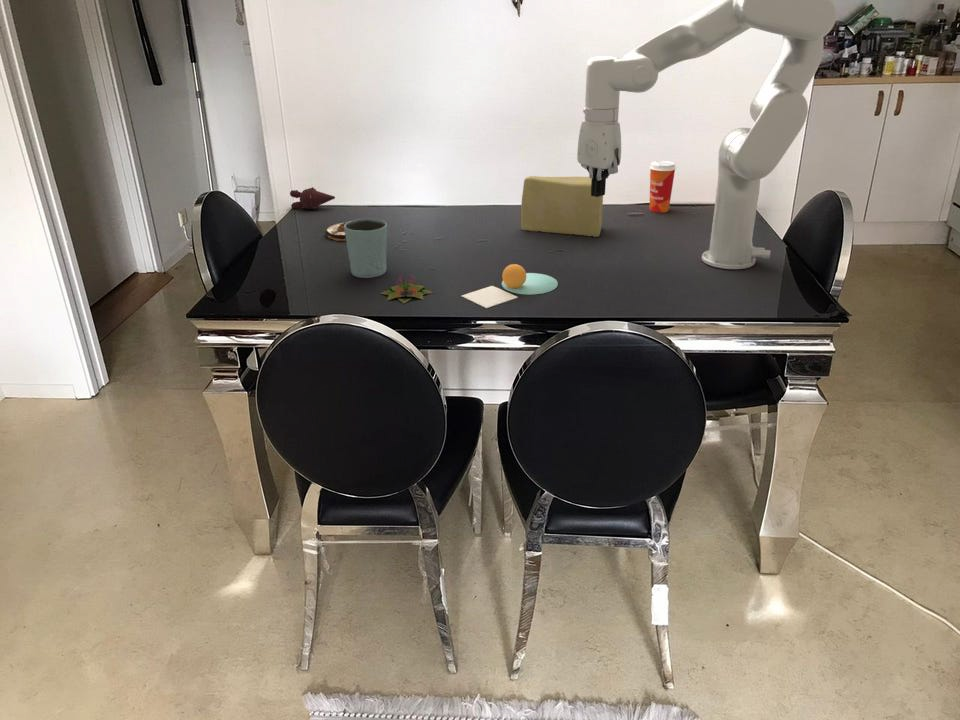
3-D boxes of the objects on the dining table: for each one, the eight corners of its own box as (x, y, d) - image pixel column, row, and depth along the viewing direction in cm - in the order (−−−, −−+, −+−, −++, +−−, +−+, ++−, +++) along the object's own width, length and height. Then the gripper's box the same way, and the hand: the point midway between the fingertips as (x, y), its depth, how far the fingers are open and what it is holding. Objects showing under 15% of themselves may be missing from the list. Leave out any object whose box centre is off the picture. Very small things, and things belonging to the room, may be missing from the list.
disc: (562, 276, 177) (562, 275, 177) (551, 296, 166) (551, 296, 166) (509, 271, 180) (509, 271, 180) (495, 291, 169) (495, 290, 169)
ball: (499, 283, 167) (512, 296, 171) (520, 271, 166) (532, 285, 169) (496, 266, 171) (508, 280, 175) (516, 255, 169) (528, 269, 173)
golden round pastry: (344, 248, 201) (342, 233, 199) (312, 237, 210) (310, 223, 208) (386, 235, 210) (385, 220, 208) (354, 225, 219) (352, 211, 217)
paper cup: (641, 208, 226) (644, 161, 219) (663, 205, 228) (668, 159, 221) (654, 215, 219) (658, 167, 213) (677, 212, 221) (682, 164, 215)
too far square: (492, 286, 172) (492, 285, 172) (517, 297, 166) (517, 296, 166) (461, 296, 167) (461, 295, 167) (486, 308, 161) (486, 307, 161)
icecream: (338, 185, 233) (294, 188, 237) (328, 185, 226) (283, 188, 230) (340, 208, 235) (297, 210, 238) (331, 209, 228) (286, 211, 231)
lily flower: (369, 296, 170) (367, 277, 168) (410, 281, 178) (408, 263, 176) (403, 310, 163) (401, 291, 161) (443, 294, 170) (442, 276, 168)
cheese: (518, 235, 206) (518, 180, 199) (524, 224, 214) (524, 172, 208) (599, 238, 202) (602, 183, 195) (601, 227, 210) (604, 174, 203)
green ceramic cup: (345, 267, 186) (340, 221, 180) (384, 262, 189) (380, 215, 183) (354, 281, 177) (348, 232, 172) (395, 275, 180) (391, 227, 175)
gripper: (566, 113, 172) (564, 192, 180) (614, 121, 161) (610, 204, 170) (589, 109, 176) (586, 186, 184) (638, 117, 165) (632, 198, 174)
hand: (597, 195), depth 177 cm, fingers closed
